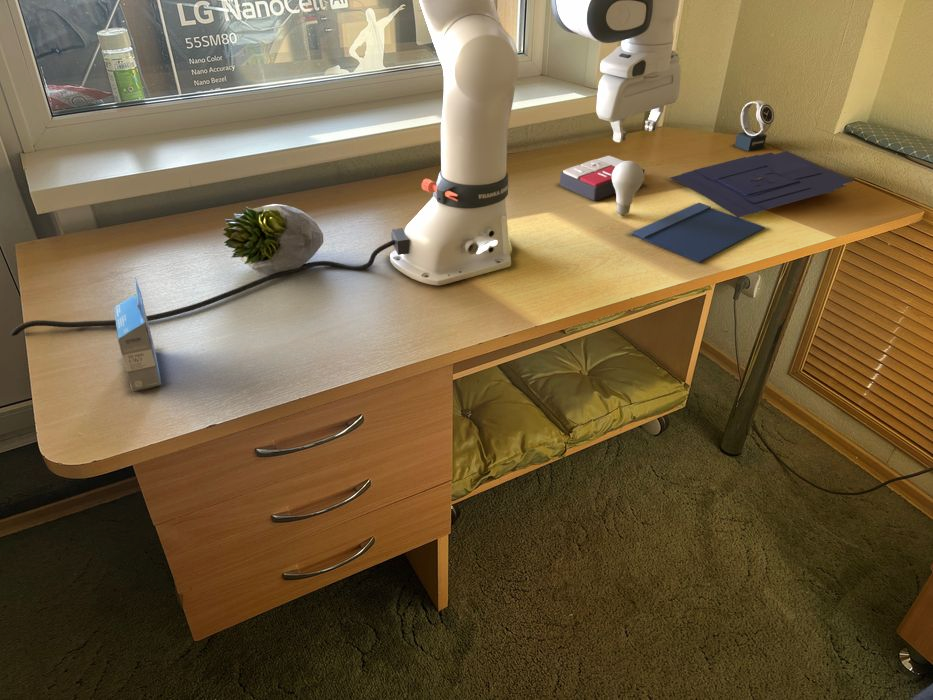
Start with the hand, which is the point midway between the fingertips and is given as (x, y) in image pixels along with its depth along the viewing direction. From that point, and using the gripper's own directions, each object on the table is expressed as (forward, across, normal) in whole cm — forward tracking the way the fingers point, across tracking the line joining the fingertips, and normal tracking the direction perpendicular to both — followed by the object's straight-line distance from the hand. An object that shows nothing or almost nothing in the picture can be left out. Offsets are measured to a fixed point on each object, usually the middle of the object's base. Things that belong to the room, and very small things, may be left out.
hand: (634, 135), depth 133 cm
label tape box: (+15, +92, -9) cm, 94 cm away
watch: (+17, -58, -6) cm, 60 cm away
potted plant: (+15, +64, -24) cm, 71 cm away
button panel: (+16, -8, -13) cm, 23 cm away
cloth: (+16, -4, +14) cm, 22 cm away
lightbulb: (+16, 0, 0) cm, 16 cm away
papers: (+17, -32, +11) cm, 38 cm away
